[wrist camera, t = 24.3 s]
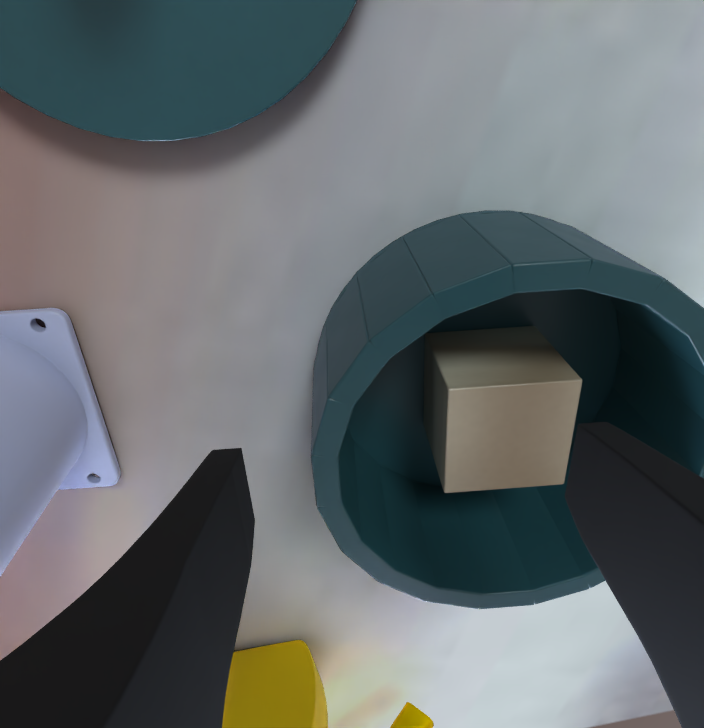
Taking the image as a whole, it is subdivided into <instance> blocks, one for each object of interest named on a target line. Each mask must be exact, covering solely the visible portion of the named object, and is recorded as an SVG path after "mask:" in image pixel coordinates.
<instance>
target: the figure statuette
mask: <svg viewBox="0 0 704 728" xmlns="http://www.w3.org/2000/svg"><path fill="white" fill-rule="evenodd" d="M433 726H434V724H433V721H432V720H431V719H430V718H429V717H428V716H427V715H426V714H424V713H423V712H422V711H420V710H419V709H418V708H416V707H415V706H414V705H412V704H411V703H409V702H407V703H406V705H405V706H404V708H403V709H402V711H401V712H400V713H399V715H398V716H397V718H396V719H395V721H394V722H393V724H392V725H391V727H390V728H433ZM222 728H328V714H327V705H326V698H325V693H324V688H323V685H322V681H321V678H320V676H319V673H318V670H317V668H316V665H315V663H314V660H313V657H312V655H311V652H310V650H309V648H308V646H307V645H306V643H305V642H304V641H301V640H294V641H289V642H283V643H278V644H273V645H267V646H262V647H256V648H251V649H246V650H241V651H235V652H233V657H232V661H231V666H230V671H229V677H228V683H227V689H226V696H225V704H224V713H223V722H222Z"/></svg>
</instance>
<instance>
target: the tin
mask: <svg viewBox="0 0 704 728" xmlns="http://www.w3.org/2000/svg"><path fill="white" fill-rule="evenodd" d="M525 326H535V327H536V328H537V329H538V330H539V332H540V333H541V334H542V335H543V336H544V337H545V338H546V339H547V341H548V342H549V343H550V344H551V345H552V346H553V347H554V348H555V350H556V351H557V352H558V353H559V354H560V355H561V356H562V357H563V359H564V360H565V361H566V362H567V363H568V364H569V365H570V367H571V368H572V369H573V370H574V371H575V372H576V373H577V374H578V376H579V377H580V378H581V379H582V386H581V392H580V398H579V403H578V409H577V414H576V420H575V425H574V431H573V437H572V442H571V448H570V453H569V459H568V464H567V470H566V476H565V481H564V484H562V485H548V486H535V487H521V488H508V489H495V490H481V491H468V492H454V493H444V491H443V488H442V484H441V481H440V478H439V474H438V471H437V468H436V464H435V461H434V458H433V454H432V451H431V447H430V444H429V441H428V437H427V434H426V431H425V427H424V358H425V334H426V333H437V332H451V331H466V330H481V329H495V328H510V327H525ZM595 422H608V423H610V424H612V425H614V426H616V427H617V428H619V429H621V430H623V431H624V432H626V433H628V434H630V435H631V436H633V437H635V438H636V439H638V440H640V441H641V442H643V443H645V444H646V445H648V446H650V447H651V448H653V449H655V450H656V451H658V452H660V453H661V454H663V455H665V456H666V457H668V458H670V459H671V460H673V461H675V462H676V463H678V464H680V465H681V466H683V467H685V468H687V469H688V470H690V471H692V472H693V473H695V474H697V475H698V476H700V477H702V478H704V308H703V307H702V306H700V305H699V304H698V303H696V302H695V301H694V300H692V299H691V298H690V297H689V296H687V295H686V294H685V293H683V292H682V291H681V290H679V289H678V288H677V287H676V286H674V285H673V284H672V283H670V282H669V281H668V280H666V279H665V278H663V277H662V276H660V275H658V274H656V273H654V272H653V271H651V270H649V269H647V268H645V267H644V266H642V265H640V264H638V263H636V262H635V261H633V260H631V259H629V258H627V257H626V256H624V255H622V254H620V253H619V252H617V251H615V250H613V249H611V248H610V247H608V246H606V245H604V244H602V243H601V242H599V241H597V240H595V239H593V238H592V237H590V236H588V235H586V234H584V233H583V232H581V231H579V230H577V229H576V228H573V227H572V226H569V225H566V224H562V223H559V222H556V221H554V220H551V219H548V218H544V217H541V216H537V215H534V214H529V213H523V212H515V211H479V212H471V213H464V214H459V215H455V216H451V217H447V218H444V219H440V220H437V221H434V222H432V223H429V224H427V225H424V226H422V227H419V228H417V229H415V230H413V231H411V232H409V233H407V234H406V235H404V236H402V237H400V238H398V239H397V240H395V241H393V242H392V243H391V244H389V245H388V246H386V247H385V248H384V249H382V250H381V251H380V252H378V253H377V254H376V255H374V256H373V257H372V258H371V259H370V260H369V261H368V262H367V263H366V264H365V265H364V266H363V267H362V268H361V269H360V270H359V271H357V273H356V274H355V275H354V276H353V278H352V279H351V280H350V281H349V283H348V284H347V285H346V286H345V287H344V289H343V290H342V292H341V293H340V295H339V297H338V298H337V300H336V302H335V303H334V305H333V307H332V308H331V311H330V313H329V315H328V317H327V320H326V322H325V324H324V327H323V330H322V334H321V337H320V341H319V344H318V350H317V356H316V359H315V363H314V377H313V409H312V441H311V461H312V470H313V479H314V488H315V497H316V505H317V509H318V510H319V512H320V514H321V516H322V518H323V519H324V521H325V523H326V525H327V526H328V528H329V530H330V532H331V534H332V535H333V537H334V539H335V541H336V542H337V544H338V546H339V548H340V549H341V551H342V552H343V553H344V554H345V555H347V556H348V557H349V558H350V559H351V560H353V561H354V562H355V563H356V564H357V565H359V566H360V567H361V568H362V569H363V570H364V571H366V572H367V573H368V574H369V575H370V576H372V577H373V578H374V579H375V580H376V581H378V582H380V583H381V584H384V585H386V586H389V587H391V588H394V589H396V590H398V591H401V592H403V593H406V594H408V595H410V596H413V597H415V598H418V599H420V600H423V601H427V602H432V603H439V604H446V605H454V606H461V607H468V608H475V609H478V608H479V609H487V608H500V607H513V606H525V605H534V603H535V604H538V603H541V602H545V601H548V600H552V599H555V598H559V597H562V596H566V595H569V594H573V593H576V592H580V591H583V590H587V589H589V587H590V588H591V587H594V586H596V585H598V584H600V583H602V582H603V581H605V579H604V577H603V575H602V573H601V572H600V570H599V568H598V567H597V565H596V563H595V561H594V560H593V558H592V556H591V554H590V553H589V551H588V549H587V547H586V545H585V544H584V542H583V540H582V538H581V536H580V533H579V531H578V529H577V526H576V524H575V522H574V519H573V517H572V514H571V512H570V509H569V507H568V504H567V502H566V499H565V492H566V486H567V481H568V475H569V470H570V464H571V459H572V454H573V448H574V443H575V437H576V432H577V426H578V424H581V423H595Z"/></svg>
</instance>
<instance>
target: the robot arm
mask: <svg viewBox="0 0 704 728" xmlns="http://www.w3.org/2000/svg"><path fill="white" fill-rule="evenodd" d="M36 319H40V320H42V321H43V322H44V323H45V325H46V328H44V327H41V326H39V325H38V324H37V322H36ZM92 473H93V474H97V475H99V477H96V476H94V475H93V474H92ZM120 476H121V470H120V467H119V464H118V461H117V458H116V455H115V452H114V449H113V446H112V443H111V440H110V437H109V434H108V431H107V428H106V425H105V422H104V419H103V416H102V413H101V410H100V407H99V404H98V401H97V398H96V395H95V392H94V389H93V386H92V383H91V380H90V377H89V374H88V371H87V368H86V365H85V362H84V359H83V356H82V353H81V350H80V346H79V343H78V340H77V337H76V334H75V331H74V328H73V325H72V322H71V319H70V318H69V316H68V314H66V313H65V312H64V311H63V310H61V309H58V308H41V309H25V310H10V311H0V576H1V575H2V573H3V572H4V570H5V569H6V567H7V566H8V564H9V563H10V561H11V560H12V558H13V557H14V555H15V553H16V552H17V550H18V549H19V547H20V546H21V544H22V543H23V541H24V540H25V538H26V537H27V535H28V534H29V532H30V531H31V529H32V528H33V526H34V525H35V523H36V522H37V520H38V519H39V517H40V516H41V514H42V512H43V511H44V509H45V508H46V506H47V505H48V503H49V502H50V500H51V499H52V497H53V496H54V494H55V493H56V491H57V490H61V489H75V488H89V487H102V486H112V485H115V484H116V483H117V482H118V480H119V478H120ZM565 499H566V502H567V504H568V507H569V509H570V512H571V514H572V517H573V519H574V522H575V524H576V526H577V529H578V531H579V533H580V536H581V538H582V540H583V542H584V544H585V545H586V547H587V549H588V551H589V553H590V554H591V556H592V558H593V560H594V561H595V563H596V565H597V567H598V568H599V570H600V572H601V573H602V575H603V577H604V579H605V580H606V582H607V584H608V585H609V587H610V589H611V591H612V592H613V594H614V596H615V597H616V599H617V601H618V603H619V604H620V606H621V608H622V609H623V611H624V613H625V614H626V616H627V618H628V620H629V621H630V623H631V625H632V626H633V628H634V630H635V632H636V633H637V635H638V637H639V639H640V640H641V642H642V644H643V646H644V648H645V650H646V652H647V654H648V655H649V657H650V659H651V661H652V663H653V665H654V668H655V670H656V672H657V674H658V676H659V678H660V680H661V683H662V685H663V687H664V689H665V691H666V693H667V696H668V698H669V700H670V702H671V704H672V706H673V709H674V711H675V713H676V715H677V717H678V720H679V722H680V724H681V727H682V728H704V478H702V477H700V476H698V475H697V474H695V473H693V472H692V471H690V470H688V469H687V468H685V467H683V466H681V465H680V464H678V463H676V462H675V461H673V460H671V459H670V458H668V457H666V456H665V455H663V454H661V453H660V452H658V451H656V450H655V449H653V448H651V447H650V446H648V445H646V444H645V443H643V442H641V441H640V440H638V439H636V438H635V437H633V436H631V435H630V434H628V433H626V432H624V431H623V430H621V429H619V428H617V427H616V426H614V425H612V424H610V423H608V422H595V423H581V424H578V426H577V432H576V437H575V443H574V448H573V454H572V459H571V464H570V470H569V475H568V481H567V486H566V492H565ZM254 525H255V518H254V513H253V508H252V502H251V497H250V492H249V486H248V481H247V476H246V470H245V465H244V460H243V454H242V449H241V448H235V449H221V450H212V451H211V452H210V453H209V455H208V456H207V457H206V458H205V459H204V461H203V462H202V463H201V465H200V466H199V467H198V468H197V470H196V471H195V472H194V473H193V475H192V476H191V477H190V479H189V480H188V481H187V482H186V484H185V485H184V486H183V487H182V489H181V490H180V491H179V492H178V494H177V495H176V496H175V497H174V498H173V500H172V501H171V502H170V503H169V504H168V506H167V507H166V508H165V509H164V510H163V512H162V513H161V514H160V515H159V516H158V518H157V519H156V520H155V521H154V522H153V523H152V524H151V526H150V527H149V528H148V529H147V530H146V531H145V532H144V533H143V534H142V535H141V537H140V538H139V539H138V540H137V541H136V542H135V543H134V544H133V545H132V546H131V547H130V548H129V549H128V551H127V552H126V553H125V554H124V555H123V556H122V557H121V558H120V559H119V560H118V561H117V562H116V563H115V564H114V565H113V566H112V567H111V568H110V569H109V570H108V571H107V572H106V573H105V574H104V575H103V576H102V577H101V578H100V579H99V580H98V581H96V582H95V583H94V584H93V585H92V586H91V587H90V588H89V589H88V590H87V591H86V592H84V593H83V594H82V595H81V596H80V597H79V598H78V599H77V600H76V601H74V602H73V603H72V604H71V605H70V606H69V607H67V608H66V609H65V610H64V611H62V612H61V613H60V614H59V615H58V616H56V617H55V618H54V619H53V620H51V621H50V622H49V623H48V624H46V625H45V626H44V627H43V628H42V629H40V630H39V631H38V632H37V633H35V634H34V635H33V636H32V637H31V638H29V639H28V640H27V641H26V642H24V643H23V644H22V645H21V646H19V647H18V648H17V649H15V650H14V651H13V652H11V653H10V654H9V655H7V656H6V657H5V658H3V659H2V660H1V661H0V728H222V722H223V713H224V704H225V696H226V689H227V683H228V677H229V671H230V666H231V661H232V657H233V652H234V647H235V642H236V637H237V632H238V627H239V623H240V618H241V613H242V608H243V603H244V598H245V593H246V588H247V583H248V578H249V573H250V568H251V561H252V550H253V538H254Z"/></svg>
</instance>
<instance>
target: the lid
mask: <svg viewBox="0 0 704 728" xmlns="http://www.w3.org/2000/svg"><path fill="white" fill-rule="evenodd" d="M356 2H357V0H0V88H1V89H3V90H4V91H6V92H7V93H9V94H10V95H12V96H13V97H14V98H16V99H18V100H20V101H21V102H23V103H25V104H27V105H29V106H31V107H33V108H34V109H36V110H38V111H40V112H42V113H44V114H46V115H47V116H50V117H52V118H55V119H57V120H60V121H62V122H65V123H67V124H70V125H72V126H75V127H77V128H80V129H83V130H87V131H91V132H94V133H98V134H102V135H106V136H109V137H115V138H122V139H130V140H137V141H176V140H183V139H190V138H197V137H203V136H206V135H209V134H213V133H216V132H219V131H223V130H226V129H229V128H232V127H234V126H236V125H238V124H240V123H242V122H245V121H247V120H249V119H251V118H253V117H255V116H257V115H259V114H261V113H262V112H264V111H265V110H267V109H268V108H270V107H271V106H273V105H274V104H276V103H277V102H279V101H280V100H282V99H283V98H284V97H285V96H286V95H287V94H289V93H290V92H291V91H292V90H293V89H294V88H295V87H296V86H298V85H299V84H300V83H301V82H302V81H303V80H304V79H305V78H306V77H307V76H308V75H309V74H310V73H311V71H312V70H313V69H314V68H315V67H316V66H317V64H318V63H319V62H320V61H321V60H322V58H323V57H324V56H325V55H326V54H327V52H328V51H329V49H330V48H331V46H332V45H333V43H334V42H335V40H336V38H337V37H338V35H339V34H340V32H341V31H342V29H343V28H344V26H345V24H346V22H347V20H348V18H349V16H350V14H351V12H352V10H353V8H354V6H355V4H356Z"/></svg>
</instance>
